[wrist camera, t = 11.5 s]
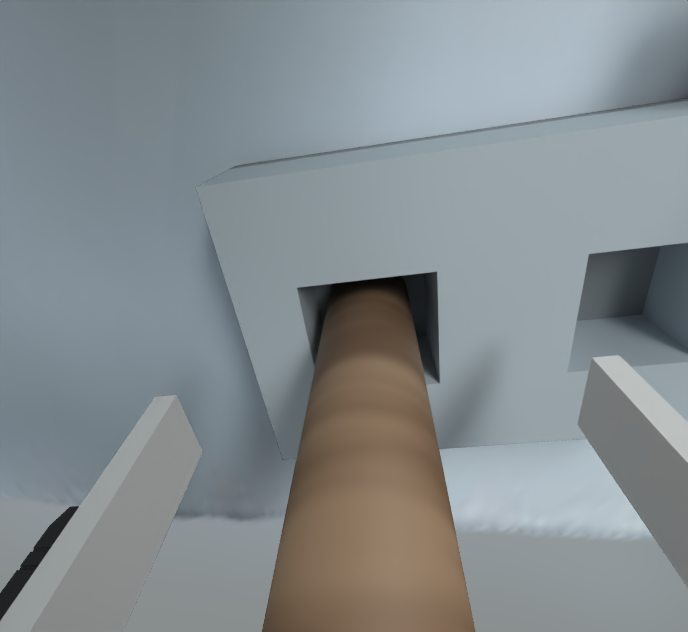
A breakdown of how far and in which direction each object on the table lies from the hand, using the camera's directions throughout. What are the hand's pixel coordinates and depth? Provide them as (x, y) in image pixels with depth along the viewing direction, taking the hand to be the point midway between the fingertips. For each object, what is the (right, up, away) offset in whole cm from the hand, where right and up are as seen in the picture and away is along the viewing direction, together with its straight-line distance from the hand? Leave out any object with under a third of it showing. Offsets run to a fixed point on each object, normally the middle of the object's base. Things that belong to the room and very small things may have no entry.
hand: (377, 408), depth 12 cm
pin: (0, +4, +7) cm, 8 cm away
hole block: (+6, +5, +7) cm, 11 cm away
